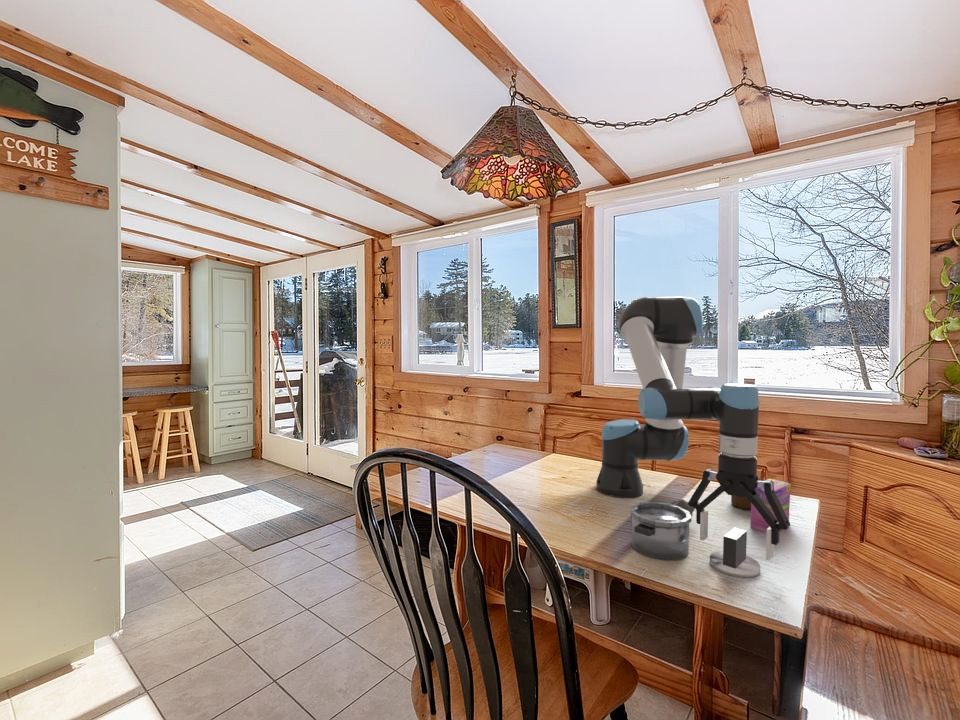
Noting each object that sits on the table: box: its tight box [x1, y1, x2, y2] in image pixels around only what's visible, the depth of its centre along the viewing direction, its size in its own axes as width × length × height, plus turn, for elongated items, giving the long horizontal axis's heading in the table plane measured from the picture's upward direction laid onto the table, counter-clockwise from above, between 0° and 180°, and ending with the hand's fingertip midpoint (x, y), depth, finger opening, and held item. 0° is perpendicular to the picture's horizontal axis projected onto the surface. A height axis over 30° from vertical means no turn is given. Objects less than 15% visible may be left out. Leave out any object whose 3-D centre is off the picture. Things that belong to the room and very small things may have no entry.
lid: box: [709, 527, 761, 579], centre depth 106 cm, size 10×10×8 cm
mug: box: [730, 475, 761, 511], centre depth 142 cm, size 12×8×9 cm, turn 10°
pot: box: [630, 501, 693, 562], centre depth 115 cm, size 14×18×9 cm
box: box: [749, 478, 792, 534], centre depth 128 cm, size 10×6×12 cm, turn 126°
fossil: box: [666, 498, 696, 518], centre depth 129 cm, size 11×9×8 cm
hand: (735, 547), depth 106 cm, fingers open, 13 cm apart
